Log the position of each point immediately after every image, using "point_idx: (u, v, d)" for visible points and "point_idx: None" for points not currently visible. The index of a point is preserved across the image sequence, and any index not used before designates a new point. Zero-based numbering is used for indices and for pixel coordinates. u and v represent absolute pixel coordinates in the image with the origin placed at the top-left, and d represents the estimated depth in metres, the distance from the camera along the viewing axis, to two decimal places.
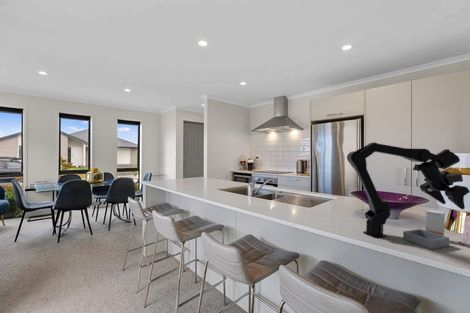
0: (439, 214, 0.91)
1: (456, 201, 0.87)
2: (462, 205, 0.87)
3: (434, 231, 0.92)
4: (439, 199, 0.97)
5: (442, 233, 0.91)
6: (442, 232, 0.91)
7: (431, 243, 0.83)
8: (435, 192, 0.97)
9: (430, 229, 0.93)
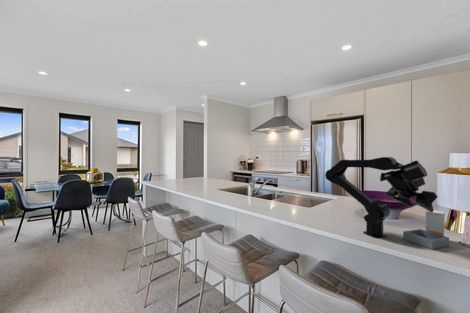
0: (439, 214, 0.91)
1: (426, 206, 0.87)
2: (431, 209, 0.88)
3: (434, 231, 0.92)
4: (407, 203, 0.98)
5: (442, 233, 0.91)
6: (442, 232, 0.91)
7: (431, 243, 0.83)
8: (402, 197, 0.98)
9: (430, 229, 0.93)
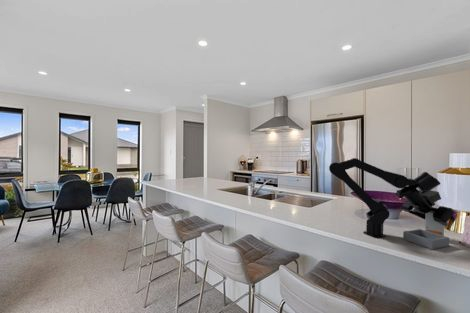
0: None
1: (441, 221, 0.89)
2: (446, 223, 0.90)
3: (434, 230, 0.93)
4: (424, 217, 0.98)
5: (442, 232, 0.91)
6: (442, 231, 0.91)
7: (431, 243, 0.83)
8: (419, 211, 0.98)
9: (430, 228, 0.93)
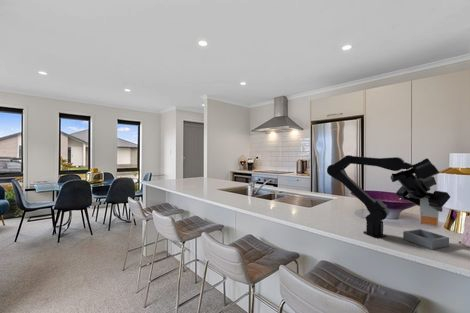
0: None
1: (436, 206, 0.87)
2: (440, 208, 0.88)
3: (428, 216, 0.91)
4: (418, 203, 0.96)
5: (437, 218, 0.89)
6: (437, 217, 0.89)
7: (431, 243, 0.83)
8: (414, 197, 0.96)
9: (425, 214, 0.91)
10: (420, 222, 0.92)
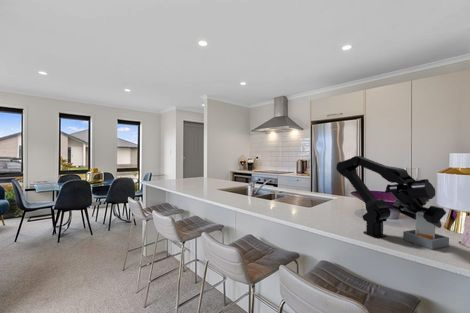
0: None
1: (434, 222, 0.83)
2: (439, 224, 0.84)
3: (424, 234, 0.88)
4: (413, 217, 0.94)
5: (433, 236, 0.86)
6: (433, 235, 0.86)
7: (431, 243, 0.83)
8: None
9: (421, 232, 0.89)
10: None
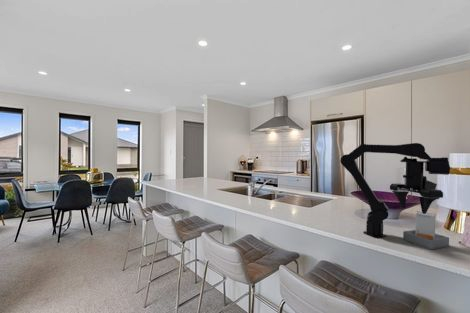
0: (430, 216, 0.87)
1: (425, 202, 0.84)
2: (425, 210, 0.85)
3: (424, 234, 0.88)
4: (402, 201, 0.95)
5: (433, 236, 0.86)
6: (433, 235, 0.86)
7: (431, 243, 0.83)
8: (402, 194, 0.95)
9: (421, 232, 0.89)
10: None
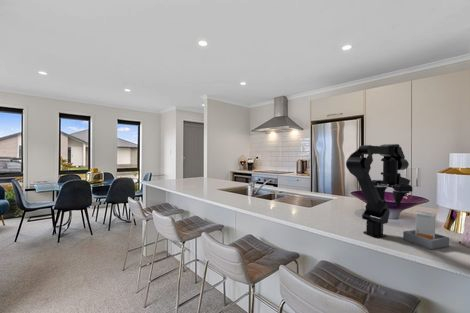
0: (430, 216, 0.87)
1: (397, 196, 0.97)
2: (398, 202, 0.98)
3: (424, 234, 0.88)
4: (381, 196, 1.08)
5: (433, 236, 0.86)
6: (433, 235, 0.86)
7: (431, 243, 0.83)
8: (381, 189, 1.08)
9: (421, 232, 0.89)
10: None
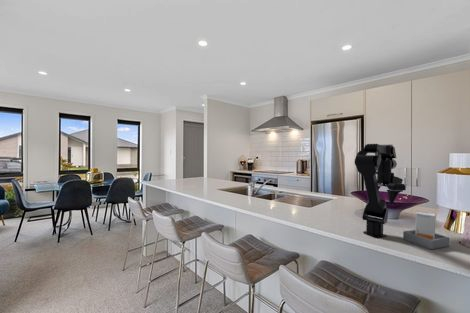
0: (430, 216, 0.87)
1: (391, 194, 1.00)
2: (392, 201, 1.01)
3: (424, 234, 0.88)
4: None
5: (433, 236, 0.86)
6: (433, 235, 0.86)
7: (431, 243, 0.83)
8: None
9: (421, 232, 0.89)
10: None
